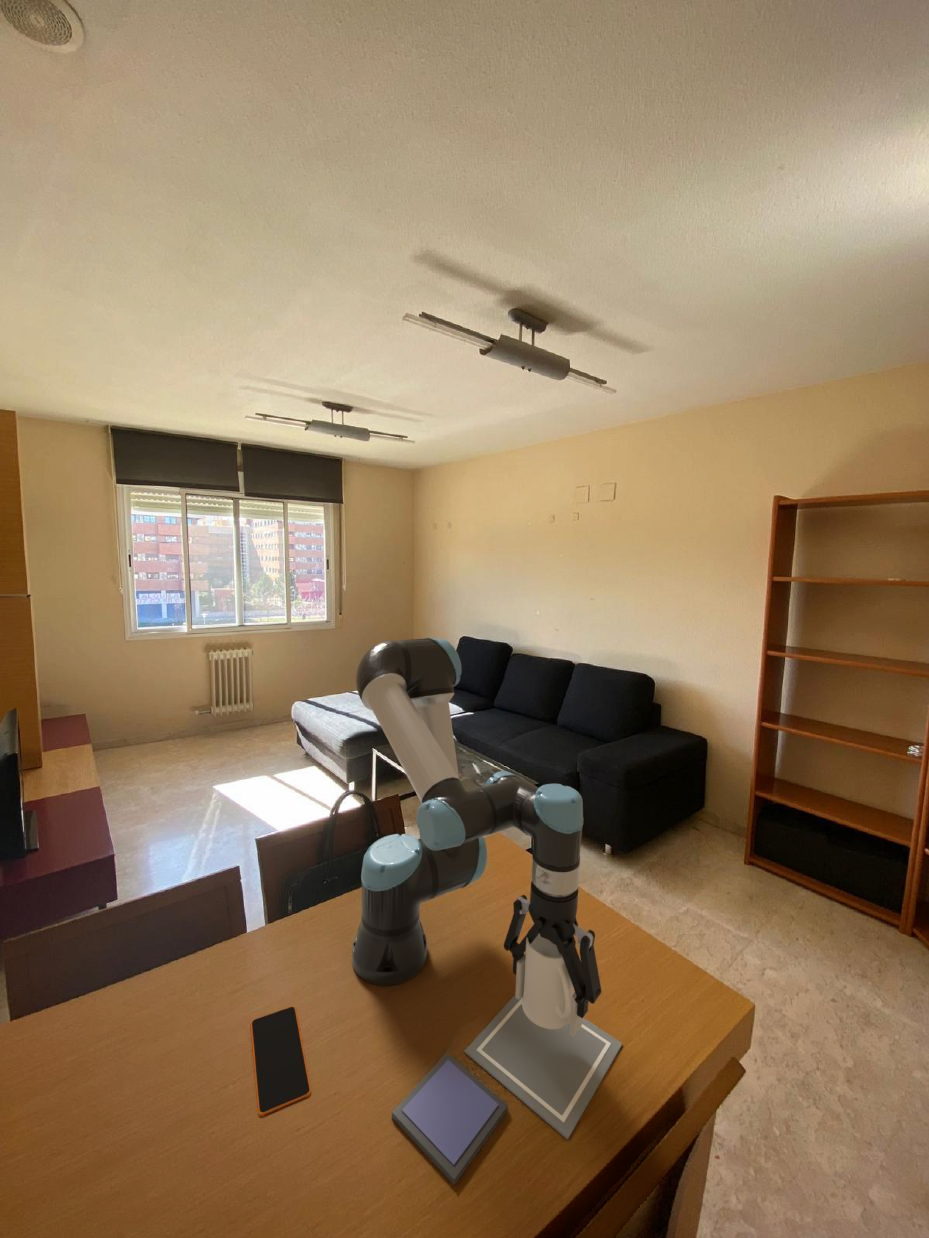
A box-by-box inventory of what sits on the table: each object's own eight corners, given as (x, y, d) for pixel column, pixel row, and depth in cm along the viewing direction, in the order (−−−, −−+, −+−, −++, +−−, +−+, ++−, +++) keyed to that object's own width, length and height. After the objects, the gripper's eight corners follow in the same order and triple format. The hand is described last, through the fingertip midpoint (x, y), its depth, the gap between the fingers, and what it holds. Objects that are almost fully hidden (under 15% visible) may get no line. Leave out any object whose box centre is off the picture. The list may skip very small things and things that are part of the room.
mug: (588, 1046, 77) (592, 974, 76) (534, 1051, 76) (537, 978, 75) (563, 983, 89) (567, 920, 88) (516, 987, 88) (519, 923, 87)
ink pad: (391, 1117, 73) (391, 1110, 73) (447, 1057, 82) (447, 1050, 82) (454, 1185, 65) (454, 1177, 65) (507, 1110, 74) (508, 1103, 74)
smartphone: (258, 1120, 72) (258, 1115, 72) (250, 1024, 87) (250, 1019, 87) (312, 1097, 75) (312, 1092, 75) (295, 1008, 90) (295, 1003, 90)
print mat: (464, 1052, 83) (464, 1050, 83) (527, 982, 97) (527, 980, 97) (567, 1140, 71) (567, 1137, 71) (622, 1044, 85) (622, 1042, 85)
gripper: (485, 865, 85) (480, 987, 87) (610, 929, 71) (600, 1072, 73) (511, 847, 91) (505, 962, 93) (631, 903, 77) (621, 1036, 79)
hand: (547, 1010), depth 83 cm, fingers closed on mug, 9 cm apart
